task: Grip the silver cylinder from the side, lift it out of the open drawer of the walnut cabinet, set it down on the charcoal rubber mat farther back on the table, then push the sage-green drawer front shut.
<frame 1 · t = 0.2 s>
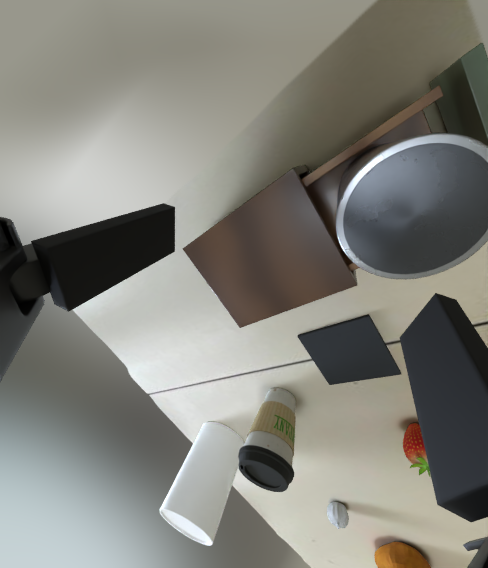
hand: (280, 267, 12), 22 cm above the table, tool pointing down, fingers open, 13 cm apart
drawer: (409, 176, 22), point 4 cm above the table, slide at 12.5 cm, touching silver cylinder
cabinet: (277, 242, 34), on the table
fruit: (415, 424, 41), on the table
coffee cup: (281, 397, 51), on the table
garlic: (337, 503, 63), on the table
bread: (398, 551, 64), on the table
silver cylinder: (379, 188, 25), point 2 cm above the table, touching drawer
canister: (223, 436, 68), on the table
mat: (346, 352, 39), on the table
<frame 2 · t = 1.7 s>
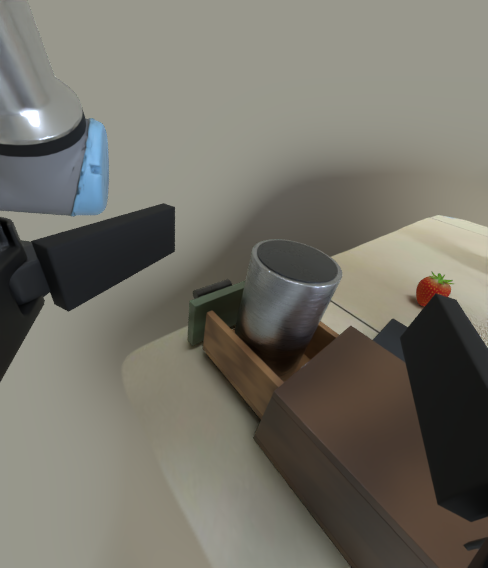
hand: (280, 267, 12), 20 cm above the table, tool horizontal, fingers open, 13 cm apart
drawer: (254, 330, 29), point 4 cm above the table, slide at 12.5 cm, touching silver cylinder
cabinet: (358, 465, 23), on the table
fruit: (420, 305, 51), on the table
silver cylinder: (263, 354, 29), point 2 cm above the table, touching drawer
mat: (416, 357, 37), on the table
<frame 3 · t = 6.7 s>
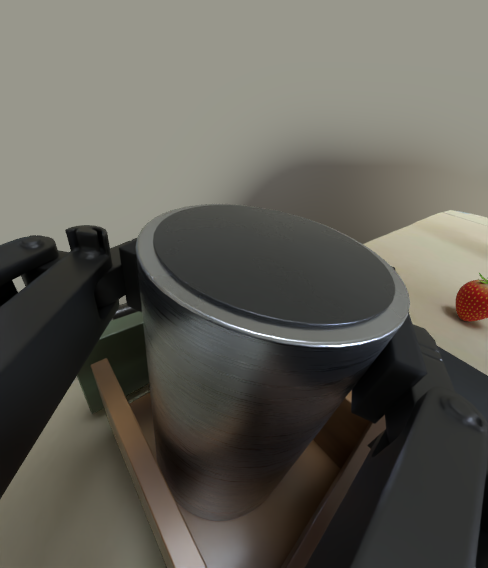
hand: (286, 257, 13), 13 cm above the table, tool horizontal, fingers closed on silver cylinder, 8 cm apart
drawer: (206, 386, 16), point 4 cm above the table, slide at 12.5 cm, touching silver cylinder
fruit: (461, 319, 37), on the table
silver cylinder: (223, 432, 16), point 2 cm above the table, touching drawer, gripper
mat: (480, 410, 23), on the table
when the fingers open (12 cm above the table, at t = 17.7 s): silver cylinder stays where it is, resting on mat.
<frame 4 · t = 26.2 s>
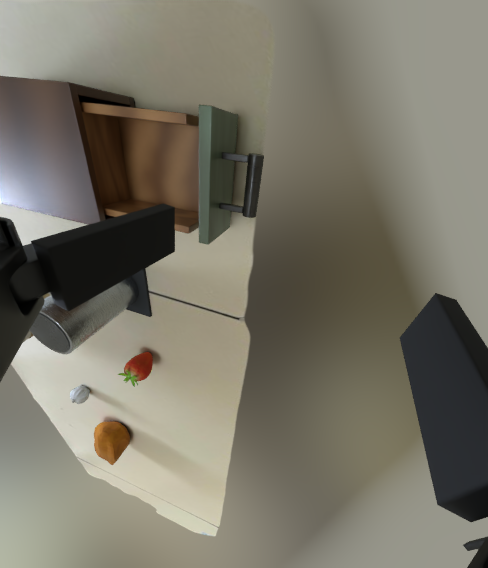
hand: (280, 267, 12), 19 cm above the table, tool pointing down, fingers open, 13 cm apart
drawer: (177, 173, 26), point 4 cm above the table, slide at 12.5 cm
cabinet: (91, 153, 33), on the table
fruit: (150, 353, 55), on the table
garlic: (86, 387, 76), on the table
bread: (116, 428, 86), on the table
silver cylinder: (119, 284, 45), resting on mat
mat: (121, 283, 45), on the table
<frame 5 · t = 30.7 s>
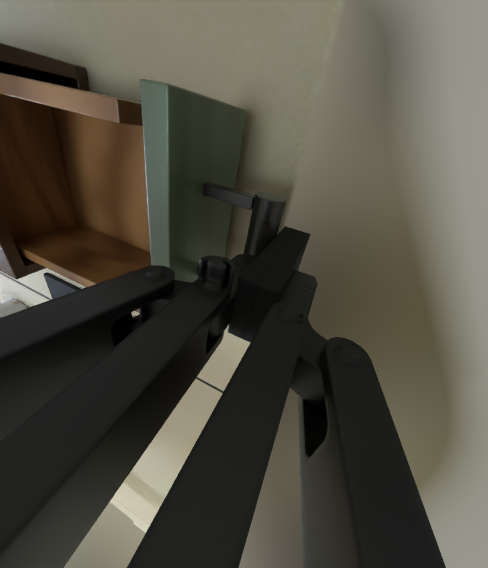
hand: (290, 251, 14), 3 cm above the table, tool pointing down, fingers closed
drawer: (131, 204, 15), point 4 cm above the table, slide at 11.9 cm, touching gripper
cabinet: (36, 150, 22), on the table
coffee cup: (25, 312, 44), on the table
mat: (87, 319, 35), on the table
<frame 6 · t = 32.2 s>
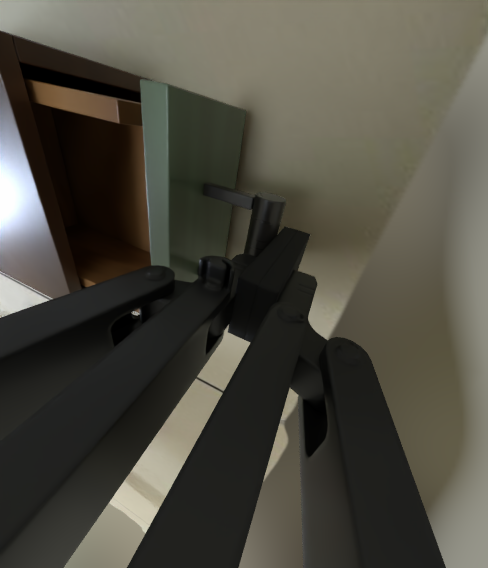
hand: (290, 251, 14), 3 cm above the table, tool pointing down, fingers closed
drawer: (131, 205, 15), point 4 cm above the table, slide at 5.9 cm, touching gripper
cabinet: (82, 165, 21), on the table
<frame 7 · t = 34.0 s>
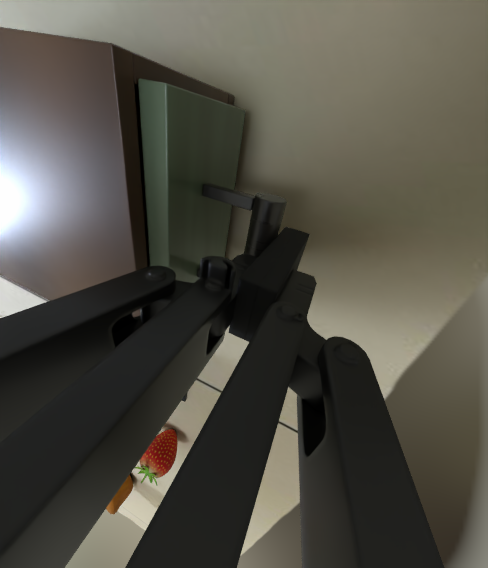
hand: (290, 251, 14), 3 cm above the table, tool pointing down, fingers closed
drawer: (129, 206, 15), point 4 cm above the table, slide at 0.0 cm, touching cabinet, gripper
cabinet: (132, 182, 19), on the table
fruit: (174, 430, 41), on the table
bread: (119, 469, 75), on the table
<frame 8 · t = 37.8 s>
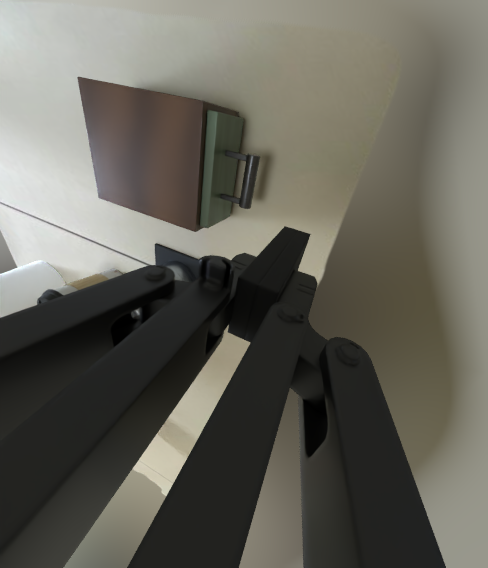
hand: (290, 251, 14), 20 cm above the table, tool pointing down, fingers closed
drawer: (187, 164, 31), point 4 cm above the table, slide at 0.0 cm
cabinet: (182, 157, 35), on the table
coffee cup: (118, 280, 56), on the table
silver cylinder: (179, 279, 47), resting on mat
canister: (52, 281, 70), on the table
mat: (181, 279, 47), on the table
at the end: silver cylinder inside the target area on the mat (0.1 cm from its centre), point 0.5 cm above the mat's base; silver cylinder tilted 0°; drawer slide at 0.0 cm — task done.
